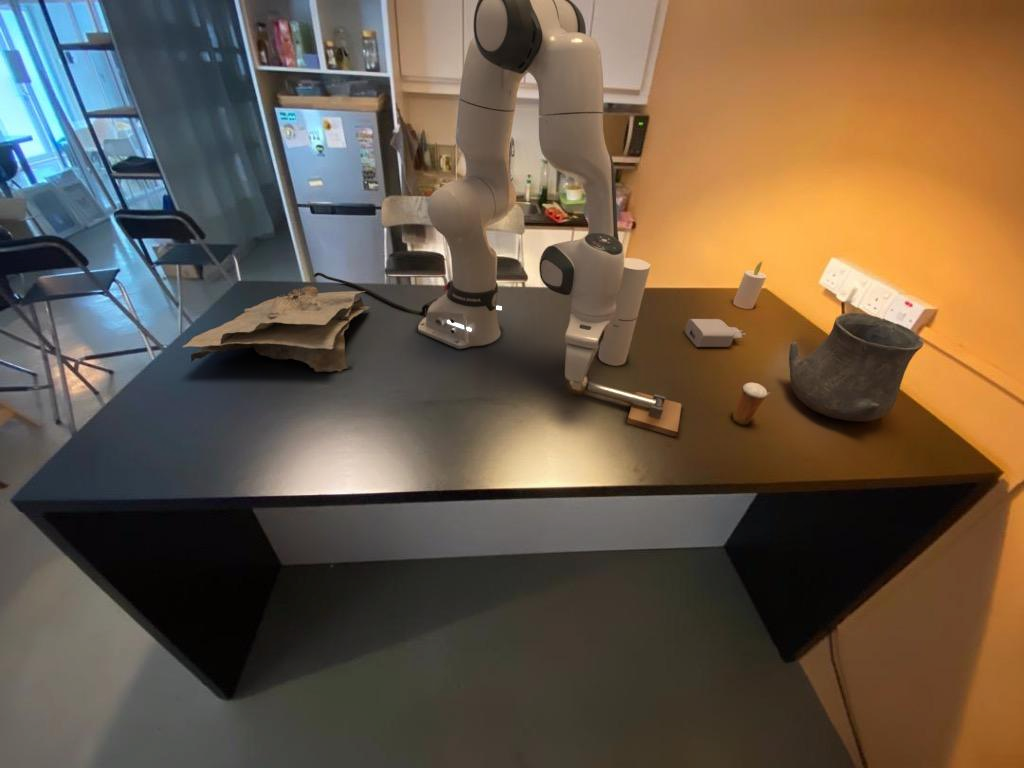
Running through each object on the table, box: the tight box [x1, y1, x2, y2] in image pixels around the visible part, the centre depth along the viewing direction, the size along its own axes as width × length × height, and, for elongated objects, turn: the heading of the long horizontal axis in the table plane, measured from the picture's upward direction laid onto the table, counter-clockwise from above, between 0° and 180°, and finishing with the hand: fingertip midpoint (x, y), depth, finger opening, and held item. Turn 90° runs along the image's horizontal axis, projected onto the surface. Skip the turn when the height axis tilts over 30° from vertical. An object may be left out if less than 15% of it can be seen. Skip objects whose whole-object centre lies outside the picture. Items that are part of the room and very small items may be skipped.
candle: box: [732, 260, 767, 310], centre depth 136 cm, size 6×6×15 cm
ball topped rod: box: [565, 375, 663, 409], centre depth 92 cm, size 21×5×5 cm, turn 68°
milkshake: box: [732, 381, 776, 425], centre depth 89 cm, size 4×5×10 cm
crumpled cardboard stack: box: [182, 285, 370, 373], centre depth 105 cm, size 35×16×32 cm
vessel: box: [788, 312, 925, 422], centre depth 92 cm, size 22×22×20 cm
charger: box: [684, 318, 747, 348], centre depth 118 cm, size 5×9×15 cm
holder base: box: [626, 391, 682, 438], centre depth 90 cm, size 10×10×4 cm
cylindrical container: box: [597, 257, 651, 366], centre depth 102 cm, size 7×7×25 cm
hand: (582, 376), depth 93 cm, fingers open, 8 cm apart
